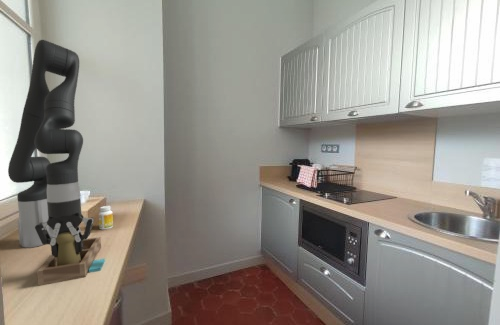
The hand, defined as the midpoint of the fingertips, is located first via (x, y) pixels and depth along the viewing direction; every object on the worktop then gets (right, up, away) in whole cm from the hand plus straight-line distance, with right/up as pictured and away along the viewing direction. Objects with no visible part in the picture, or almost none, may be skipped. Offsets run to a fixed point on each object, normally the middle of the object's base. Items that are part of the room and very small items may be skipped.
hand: (68, 254), depth 68 cm
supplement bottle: (-12, -3, +36) cm, 38 cm away
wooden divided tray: (0, -5, +5) cm, 7 cm away
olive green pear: (0, -4, 0) cm, 4 cm away
